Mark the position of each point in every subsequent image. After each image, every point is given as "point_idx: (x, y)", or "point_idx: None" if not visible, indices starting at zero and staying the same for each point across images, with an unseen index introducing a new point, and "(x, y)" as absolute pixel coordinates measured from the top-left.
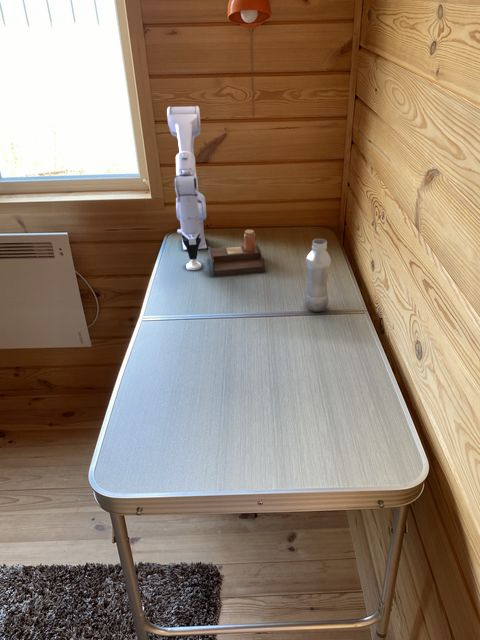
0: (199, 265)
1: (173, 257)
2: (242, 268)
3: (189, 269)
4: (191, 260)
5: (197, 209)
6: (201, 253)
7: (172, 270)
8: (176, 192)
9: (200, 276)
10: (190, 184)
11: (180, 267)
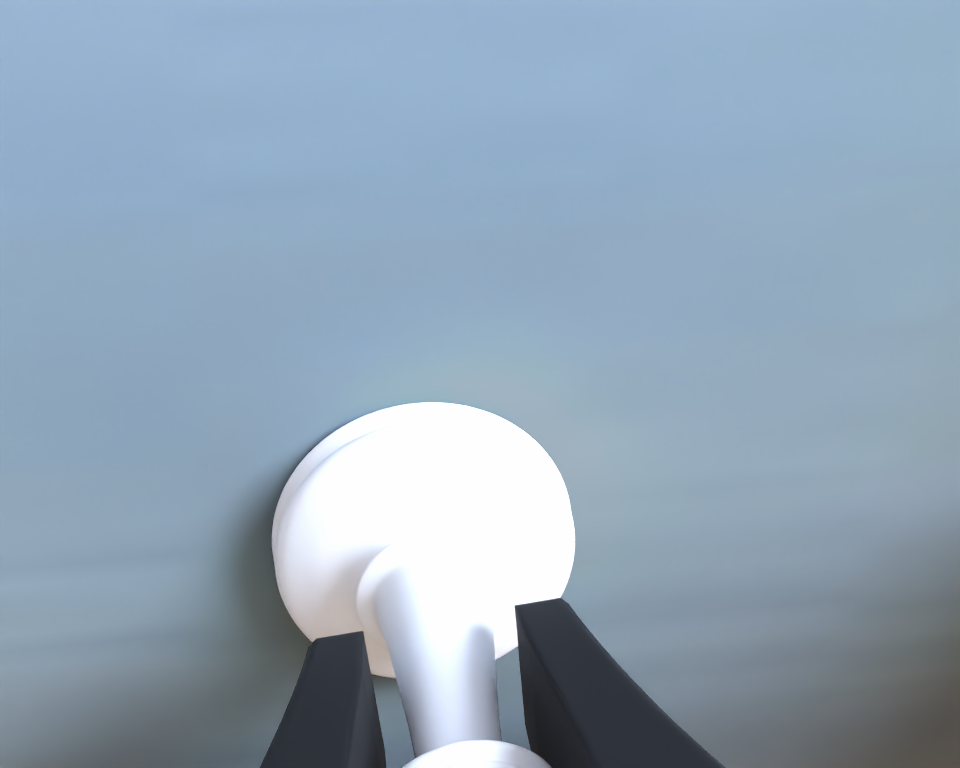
0: (372, 668)
1: (948, 93)
2: None
3: (290, 478)
4: (398, 608)
5: None
6: (954, 599)
7: (274, 115)
8: None
9: (8, 680)
10: None
11: (422, 286)
